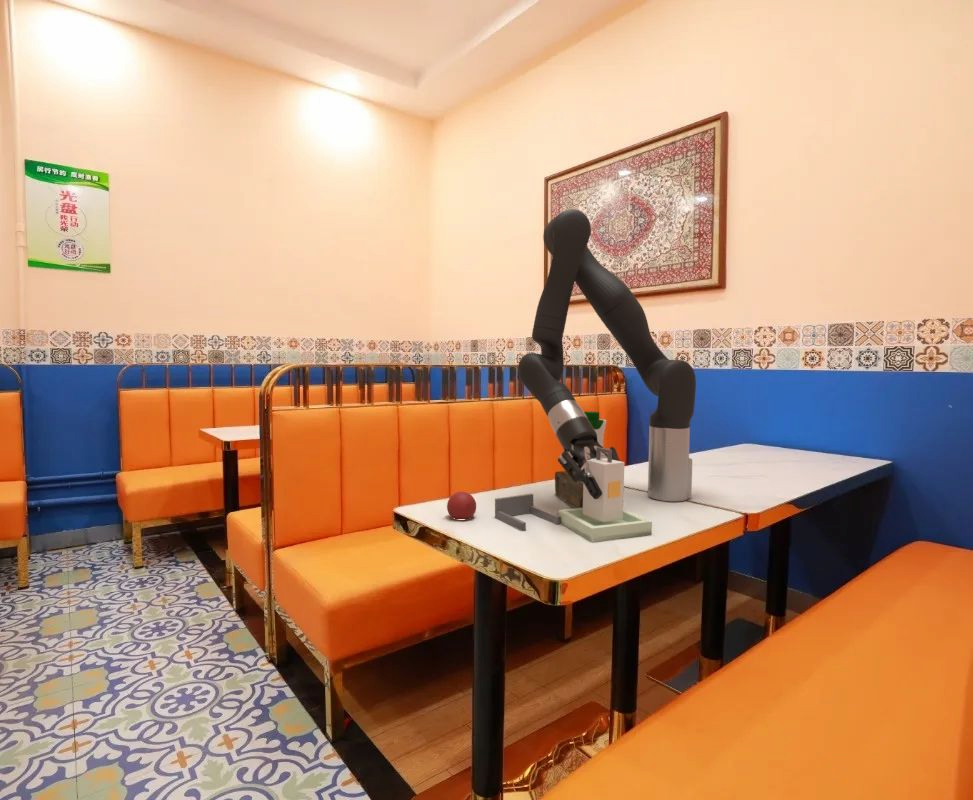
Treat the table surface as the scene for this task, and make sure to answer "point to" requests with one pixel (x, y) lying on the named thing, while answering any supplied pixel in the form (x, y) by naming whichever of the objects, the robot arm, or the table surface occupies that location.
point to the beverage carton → (569, 489)
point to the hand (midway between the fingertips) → (609, 494)
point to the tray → (605, 525)
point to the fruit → (461, 505)
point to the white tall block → (605, 488)
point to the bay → (520, 510)
